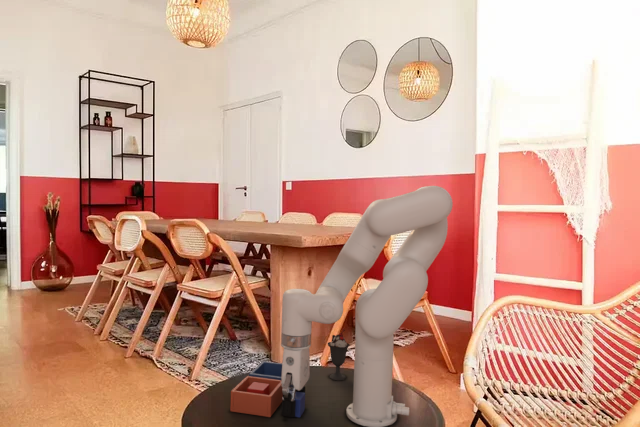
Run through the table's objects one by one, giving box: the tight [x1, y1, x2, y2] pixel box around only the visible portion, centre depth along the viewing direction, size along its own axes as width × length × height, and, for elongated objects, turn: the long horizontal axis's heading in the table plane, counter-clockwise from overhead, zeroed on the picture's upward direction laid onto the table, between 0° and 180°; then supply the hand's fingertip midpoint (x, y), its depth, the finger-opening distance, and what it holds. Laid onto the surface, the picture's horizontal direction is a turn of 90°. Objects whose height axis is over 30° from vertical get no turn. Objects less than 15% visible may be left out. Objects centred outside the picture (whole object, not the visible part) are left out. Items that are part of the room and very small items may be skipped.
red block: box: [247, 382, 269, 395], centre depth 121 cm, size 4×4×4 cm
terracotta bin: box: [230, 375, 283, 418], centre depth 121 cm, size 11×11×5 cm
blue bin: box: [248, 360, 293, 391], centre depth 133 cm, size 11×11×5 cm
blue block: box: [289, 390, 306, 418], centre depth 118 cm, size 4×4×4 cm
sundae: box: [327, 328, 351, 381], centre depth 141 cm, size 7×7×15 cm
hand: (293, 408), depth 118 cm, fingers open, 8 cm apart
